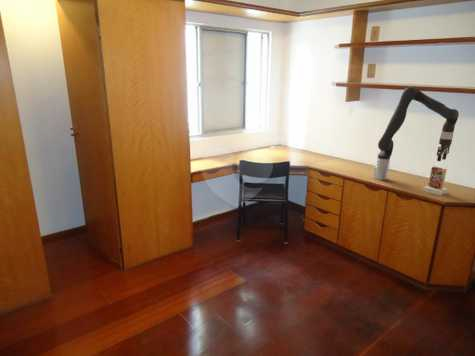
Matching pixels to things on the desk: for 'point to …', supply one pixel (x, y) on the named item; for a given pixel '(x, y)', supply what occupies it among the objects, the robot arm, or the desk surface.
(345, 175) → the desk surface
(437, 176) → the candy box
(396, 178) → the desk surface
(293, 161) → the desk surface
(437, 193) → the plinth
